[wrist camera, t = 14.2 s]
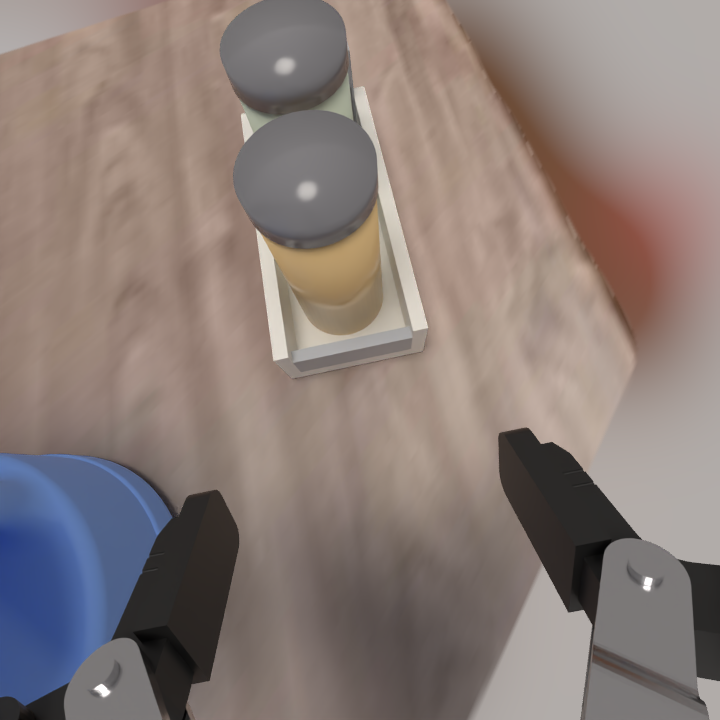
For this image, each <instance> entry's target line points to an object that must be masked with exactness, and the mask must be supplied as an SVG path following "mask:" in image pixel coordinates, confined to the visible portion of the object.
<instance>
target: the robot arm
mask: <svg viewBox="0 0 720 720" xmlns="http://www.w3.org/2000/svg"><path fill="white" fill-rule="evenodd" d="M498 442H499V472H500V479H501V483H502V486H503V489H504V492H505V494H506V496H507V498H508V500H509V502H510V504H511V506H512V507H513V509H514V511H515V513H516V515H517V517H518V519H519V521H520V522H521V524H522V526H523V528H524V530H525V532H526V534H527V536H528V537H529V539H530V541H531V543H532V545H533V547H534V549H535V551H536V552H537V554H538V556H539V558H540V560H541V562H542V564H543V566H544V567H545V569H546V571H547V573H548V575H549V577H550V579H551V580H552V582H553V584H554V586H555V588H556V590H557V592H558V594H559V595H560V597H561V599H562V601H563V603H564V605H565V607H566V609H567V611H568V612H574V611H579V610H584V611H585V613H586V614H587V616H588V618H589V620H590V621H591V623H592V632H591V640H590V648H589V657H588V665H587V672H586V682H585V688H584V697H583V704H582V712H581V720H709V715H708V711H707V707H706V704H705V702H704V701H702V700H701V699H700V697H699V694H698V688H697V677H700V678H705V679H711V680H716V681H720V565H710V564H701V563H692V562H687V561H683V560H679V559H676V558H675V557H674V556H673V555H672V554H670V553H669V552H668V551H666V550H665V549H663V548H661V547H660V546H657V545H655V544H653V543H651V542H647V541H644V540H642V539H641V538H640V537H639V536H638V535H637V534H636V533H635V531H634V530H633V529H632V528H631V527H630V525H629V524H628V523H627V522H626V521H625V519H624V518H623V517H622V516H621V515H620V513H619V512H618V511H617V510H616V508H615V507H614V506H613V505H612V503H611V502H610V501H609V500H608V499H607V497H606V496H605V495H604V494H603V493H602V491H601V490H600V489H599V488H598V487H597V485H594V483H593V480H592V479H591V478H590V477H589V476H588V474H587V473H586V472H584V471H583V468H582V467H581V466H580V465H579V463H578V462H577V461H576V460H575V458H574V457H573V456H572V455H571V454H570V453H569V452H567V451H566V450H564V449H562V448H561V447H559V446H558V445H556V444H554V443H553V442H550V443H545V444H540V442H539V441H538V440H537V438H536V437H535V436H534V434H533V433H532V432H531V430H530V429H529V428H521V429H516V430H511V431H506V432H501V433H499V437H498ZM238 548H239V533H238V528H237V525H236V523H235V521H234V519H233V517H232V515H231V513H230V511H229V509H228V507H227V505H226V503H225V501H224V499H223V497H222V495H221V493H220V492H219V491H218V490H212V491H208V492H203V493H198V494H193V495H189V496H188V497H187V498H186V500H185V503H184V505H183V508H182V510H181V512H180V515H179V517H176V518H171V520H170V521H169V522H168V523H167V525H166V526H165V527H164V528H163V529H162V531H161V532H160V533H159V534H158V536H157V538H156V540H155V542H154V544H153V547H152V549H151V551H150V553H149V558H147V560H146V563H145V565H144V567H143V569H142V574H140V576H139V578H138V581H137V583H136V585H135V588H134V590H133V592H132V594H131V597H130V599H129V601H128V603H127V606H126V608H125V610H124V613H123V615H122V617H121V619H120V622H119V624H118V626H117V629H116V631H115V633H114V635H113V637H112V639H111V641H110V642H108V643H106V644H104V645H102V646H101V647H100V648H98V649H97V650H95V651H94V652H93V653H92V654H91V655H90V656H89V657H88V658H87V659H86V660H85V661H84V662H83V663H82V664H81V666H80V667H79V668H78V670H77V671H76V672H75V674H74V676H73V677H72V679H71V681H70V682H69V683H67V684H65V685H63V686H62V687H60V688H58V689H56V690H54V691H52V692H50V693H48V694H46V695H44V696H43V697H41V698H39V699H37V700H35V701H33V702H31V703H29V704H27V705H26V706H24V705H23V704H22V703H20V702H19V701H18V700H17V699H15V698H13V697H9V696H5V697H0V720H195V717H194V715H193V712H192V710H191V707H190V705H189V704H188V702H187V700H188V696H189V692H190V688H191V684H195V683H200V682H205V681H210V676H211V672H212V667H213V662H214V658H215V653H216V649H217V644H218V640H219V635H220V630H221V626H222V621H223V617H224V612H225V608H226V603H227V598H228V594H229V589H230V585H231V580H232V576H233V571H234V567H235V562H236V557H237V553H238Z"/></svg>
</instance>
